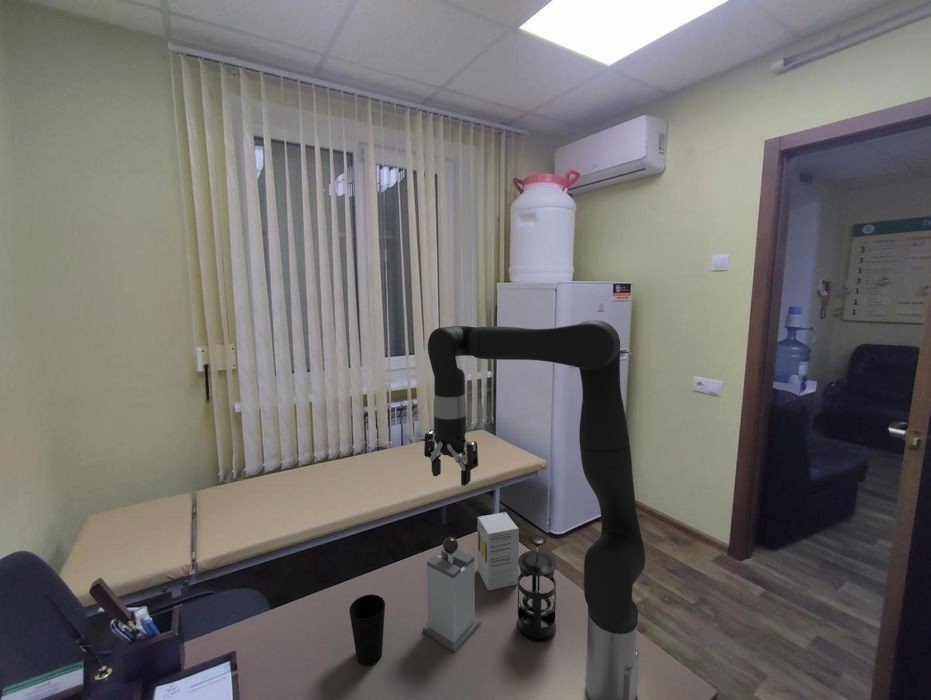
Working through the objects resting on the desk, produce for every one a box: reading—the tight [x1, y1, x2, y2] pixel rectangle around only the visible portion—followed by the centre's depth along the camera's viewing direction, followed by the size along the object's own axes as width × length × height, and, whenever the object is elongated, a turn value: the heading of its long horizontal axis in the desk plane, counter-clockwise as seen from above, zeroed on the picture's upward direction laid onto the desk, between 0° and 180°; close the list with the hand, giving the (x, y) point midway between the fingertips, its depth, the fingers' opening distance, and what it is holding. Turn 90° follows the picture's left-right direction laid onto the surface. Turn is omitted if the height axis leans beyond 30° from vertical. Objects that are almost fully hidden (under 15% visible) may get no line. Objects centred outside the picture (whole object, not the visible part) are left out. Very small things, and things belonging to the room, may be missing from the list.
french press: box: [516, 534, 557, 643], centre depth 99 cm, size 12×9×23 cm
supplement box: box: [477, 511, 520, 591], centre depth 116 cm, size 10×9×17 cm
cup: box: [349, 593, 386, 667], centre depth 91 cm, size 8×8×12 cm
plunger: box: [442, 536, 459, 564], centre depth 98 cm, size 6×6×17 cm
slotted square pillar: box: [422, 548, 482, 653], centre depth 98 cm, size 10×10×18 cm
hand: (450, 479), depth 97 cm, fingers open, 8 cm apart
